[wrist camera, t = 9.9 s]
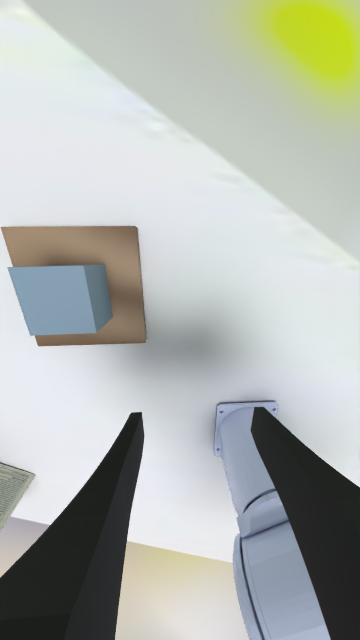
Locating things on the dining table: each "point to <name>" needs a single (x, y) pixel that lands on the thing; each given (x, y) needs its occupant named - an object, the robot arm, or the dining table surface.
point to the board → (89, 249)
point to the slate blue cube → (63, 298)
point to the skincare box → (11, 490)
